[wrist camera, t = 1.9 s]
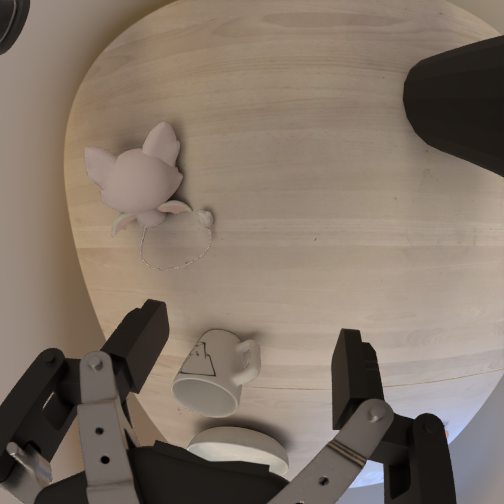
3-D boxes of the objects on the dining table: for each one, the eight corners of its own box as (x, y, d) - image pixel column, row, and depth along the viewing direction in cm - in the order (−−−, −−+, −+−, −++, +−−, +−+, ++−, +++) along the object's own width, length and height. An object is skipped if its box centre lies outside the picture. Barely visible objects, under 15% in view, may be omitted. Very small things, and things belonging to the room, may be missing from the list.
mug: (247, 306, 37) (231, 365, 28) (281, 349, 39) (273, 407, 31) (182, 333, 41) (157, 384, 32) (217, 369, 44) (200, 421, 35)
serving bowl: (178, 427, 56) (168, 451, 50) (235, 401, 47) (227, 433, 41) (247, 462, 60) (243, 484, 54) (312, 442, 51) (310, 470, 45)
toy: (211, 211, 37) (169, 102, 26) (226, 250, 32) (175, 121, 21) (129, 246, 36) (70, 150, 26) (130, 289, 31) (52, 183, 20)
